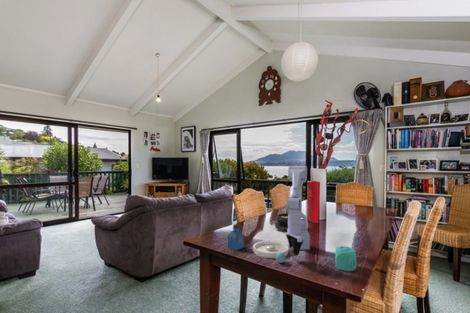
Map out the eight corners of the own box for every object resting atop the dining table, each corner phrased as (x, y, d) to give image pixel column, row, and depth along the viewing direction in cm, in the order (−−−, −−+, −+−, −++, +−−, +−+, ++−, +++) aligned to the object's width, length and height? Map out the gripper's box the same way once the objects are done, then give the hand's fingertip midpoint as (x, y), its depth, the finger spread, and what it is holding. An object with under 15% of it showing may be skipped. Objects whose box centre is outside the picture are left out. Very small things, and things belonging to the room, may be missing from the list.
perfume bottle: (235, 244, 137) (235, 223, 138) (244, 247, 134) (244, 224, 134) (227, 247, 133) (227, 225, 133) (236, 250, 129) (236, 227, 129)
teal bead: (283, 260, 116) (283, 251, 116) (286, 264, 111) (286, 254, 112) (274, 260, 115) (274, 251, 115) (277, 264, 111) (277, 255, 111)
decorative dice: (335, 269, 106) (335, 251, 106) (335, 262, 114) (335, 245, 114) (356, 272, 103) (356, 253, 104) (354, 265, 111) (354, 247, 111)
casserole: (295, 234, 156) (295, 221, 156) (268, 230, 166) (268, 217, 166) (306, 225, 177) (306, 213, 177) (282, 222, 187) (282, 211, 187)
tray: (282, 244, 137) (282, 240, 137) (293, 257, 119) (293, 252, 119) (250, 245, 135) (250, 241, 135) (257, 259, 117) (257, 254, 117)
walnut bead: (297, 253, 118) (297, 244, 118) (300, 257, 113) (300, 247, 113) (288, 254, 117) (288, 244, 117) (291, 257, 113) (291, 248, 113)
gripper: (281, 219, 122) (281, 247, 122) (291, 227, 108) (291, 259, 108) (295, 219, 123) (295, 246, 123) (306, 227, 109) (307, 258, 109)
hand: (294, 252), depth 115 cm, fingers closed on walnut bead, 4 cm apart
